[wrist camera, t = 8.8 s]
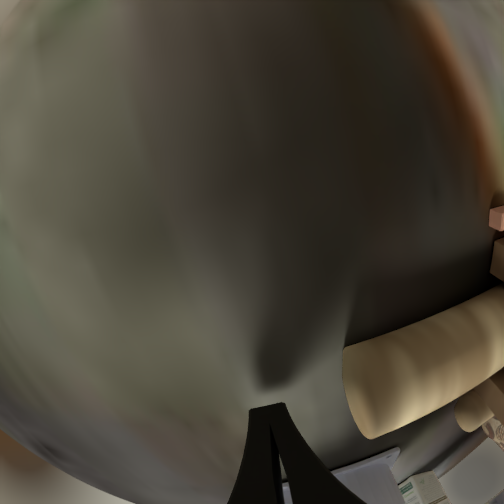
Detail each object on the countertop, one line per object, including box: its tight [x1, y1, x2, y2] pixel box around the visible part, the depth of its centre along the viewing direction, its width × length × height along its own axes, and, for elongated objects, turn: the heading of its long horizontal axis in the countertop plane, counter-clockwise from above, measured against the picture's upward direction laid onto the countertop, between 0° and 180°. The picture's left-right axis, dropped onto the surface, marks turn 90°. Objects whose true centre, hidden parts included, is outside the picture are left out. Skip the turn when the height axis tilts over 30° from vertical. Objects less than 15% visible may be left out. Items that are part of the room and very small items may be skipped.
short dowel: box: [454, 388, 494, 432], centre depth 14 cm, size 8×3×3 cm, turn 101°
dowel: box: [342, 282, 504, 439], centre depth 10 cm, size 12×4×4 cm, turn 100°
